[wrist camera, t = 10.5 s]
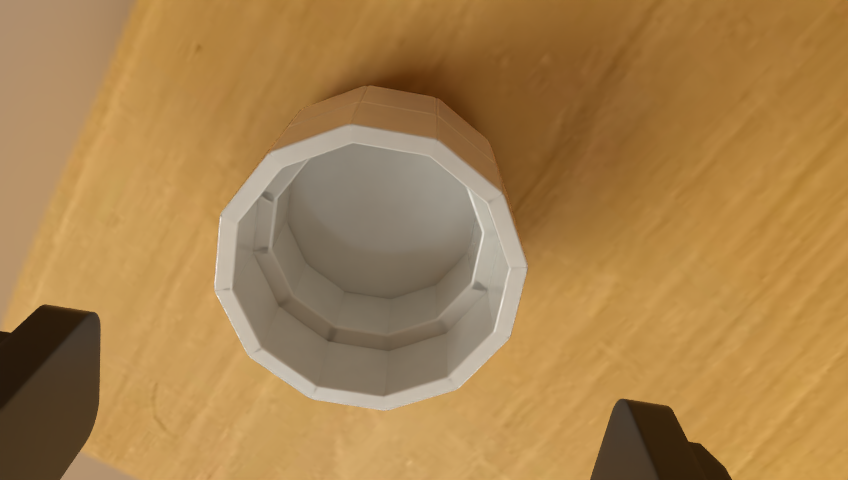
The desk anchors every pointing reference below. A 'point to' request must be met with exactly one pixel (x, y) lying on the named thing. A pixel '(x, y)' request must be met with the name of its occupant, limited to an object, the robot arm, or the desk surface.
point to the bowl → (372, 251)
